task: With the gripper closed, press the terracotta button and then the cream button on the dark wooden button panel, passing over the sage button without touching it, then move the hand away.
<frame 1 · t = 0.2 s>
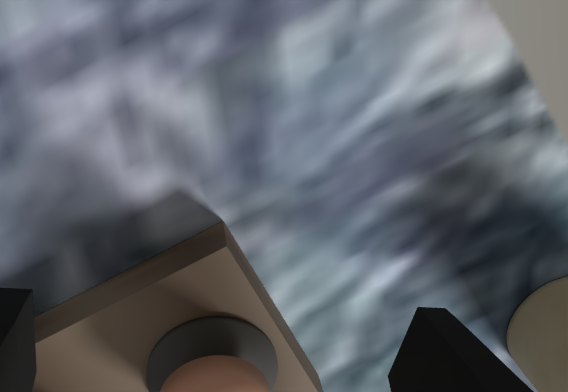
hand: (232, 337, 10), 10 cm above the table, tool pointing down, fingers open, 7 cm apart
candle: (556, 321, 26), on the table
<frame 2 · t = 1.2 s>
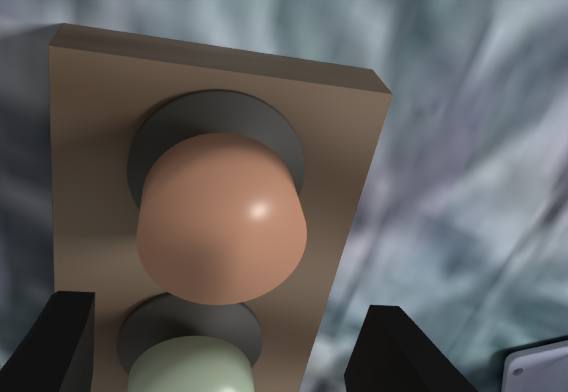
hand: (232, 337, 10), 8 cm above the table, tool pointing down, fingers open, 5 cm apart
button terracotta: (221, 220, 14), point 5 cm above the table, slide at 0.0 cm
button panel: (191, 302, 21), on the table
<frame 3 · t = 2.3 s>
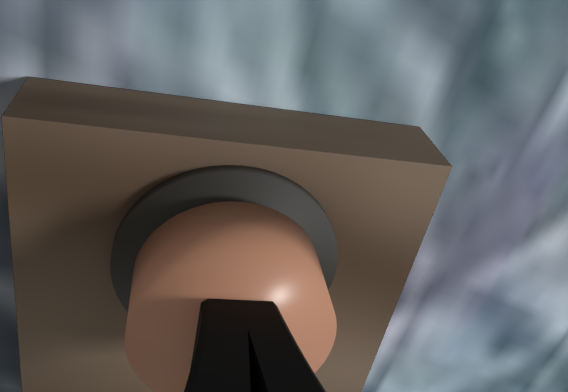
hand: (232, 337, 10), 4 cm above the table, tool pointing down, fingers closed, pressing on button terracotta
button terracotta: (230, 307, 11), point 3 cm above the table, slide at 1.0 cm, touching gripper
button panel: (192, 391, 18), on the table
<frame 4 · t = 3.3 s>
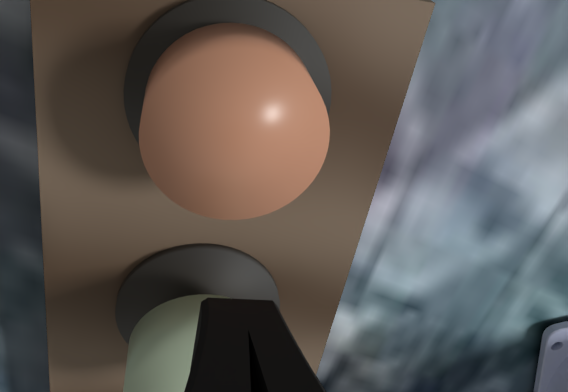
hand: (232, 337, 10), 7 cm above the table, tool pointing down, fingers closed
button sage: (201, 371, 15), point 4 cm above the table, slide at 0.0 cm
button terracotta: (233, 123, 12), point 3 cm above the table, slide at 1.0 cm
button panel: (198, 265, 19), on the table
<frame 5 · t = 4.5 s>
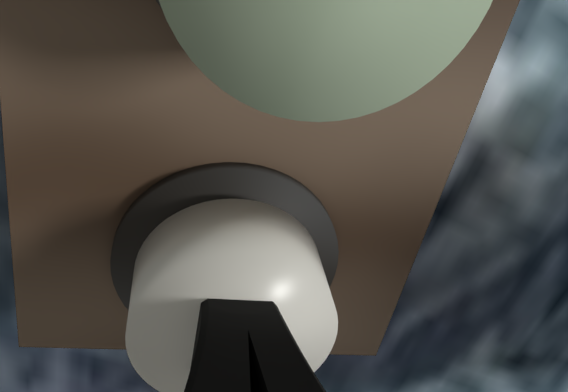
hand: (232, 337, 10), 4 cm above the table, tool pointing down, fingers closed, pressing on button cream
button cream: (231, 305, 11), point 3 cm above the table, slide at 1.0 cm, touching gripper
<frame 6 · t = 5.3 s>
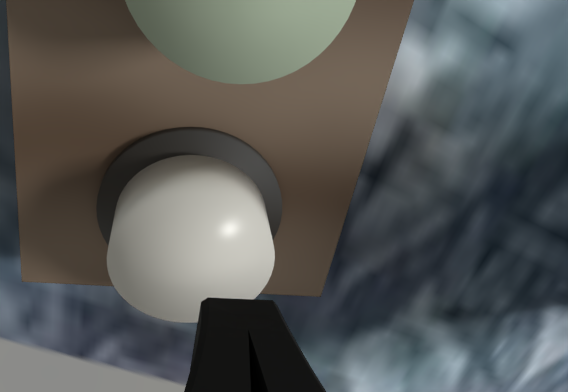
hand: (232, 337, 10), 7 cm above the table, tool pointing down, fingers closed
button cream: (192, 240, 14), point 3 cm above the table, slide at 1.0 cm
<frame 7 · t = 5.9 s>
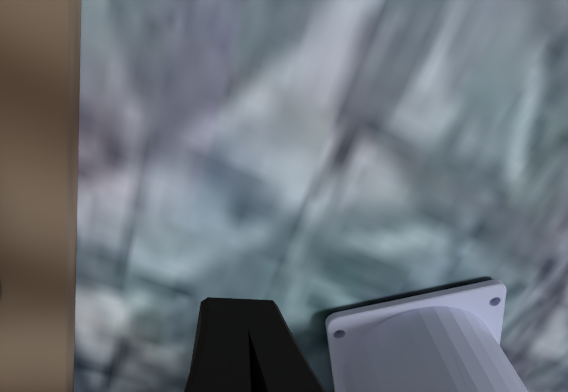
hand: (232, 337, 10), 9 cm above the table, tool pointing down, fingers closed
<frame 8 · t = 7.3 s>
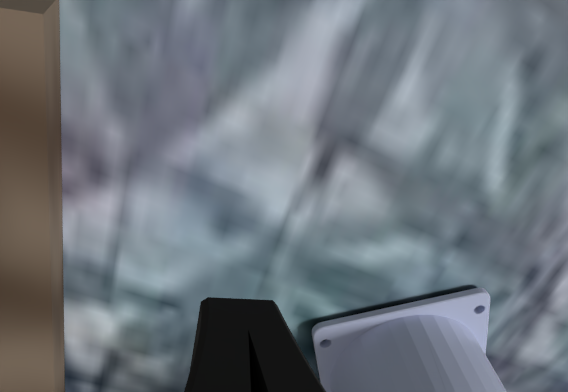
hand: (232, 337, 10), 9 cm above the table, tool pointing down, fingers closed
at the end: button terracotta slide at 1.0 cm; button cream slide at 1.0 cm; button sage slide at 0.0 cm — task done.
